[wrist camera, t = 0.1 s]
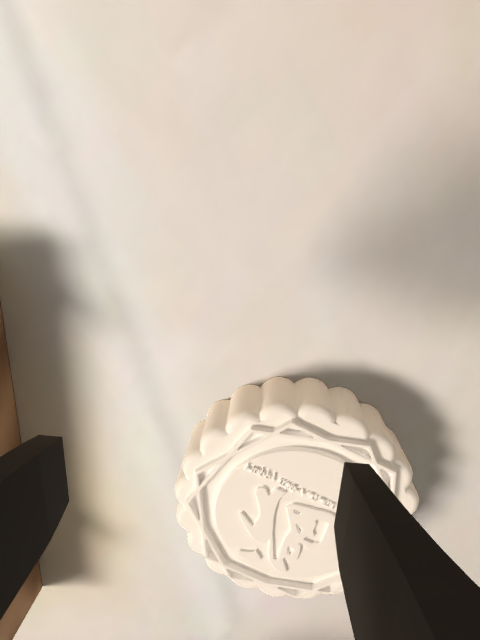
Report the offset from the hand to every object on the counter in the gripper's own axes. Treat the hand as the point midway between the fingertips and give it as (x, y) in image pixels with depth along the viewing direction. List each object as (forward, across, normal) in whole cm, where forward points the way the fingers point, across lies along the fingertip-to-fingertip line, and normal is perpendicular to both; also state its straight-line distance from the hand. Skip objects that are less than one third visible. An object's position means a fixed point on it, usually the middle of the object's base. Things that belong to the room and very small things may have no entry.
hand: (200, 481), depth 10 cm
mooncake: (+10, -4, +8) cm, 14 cm away
